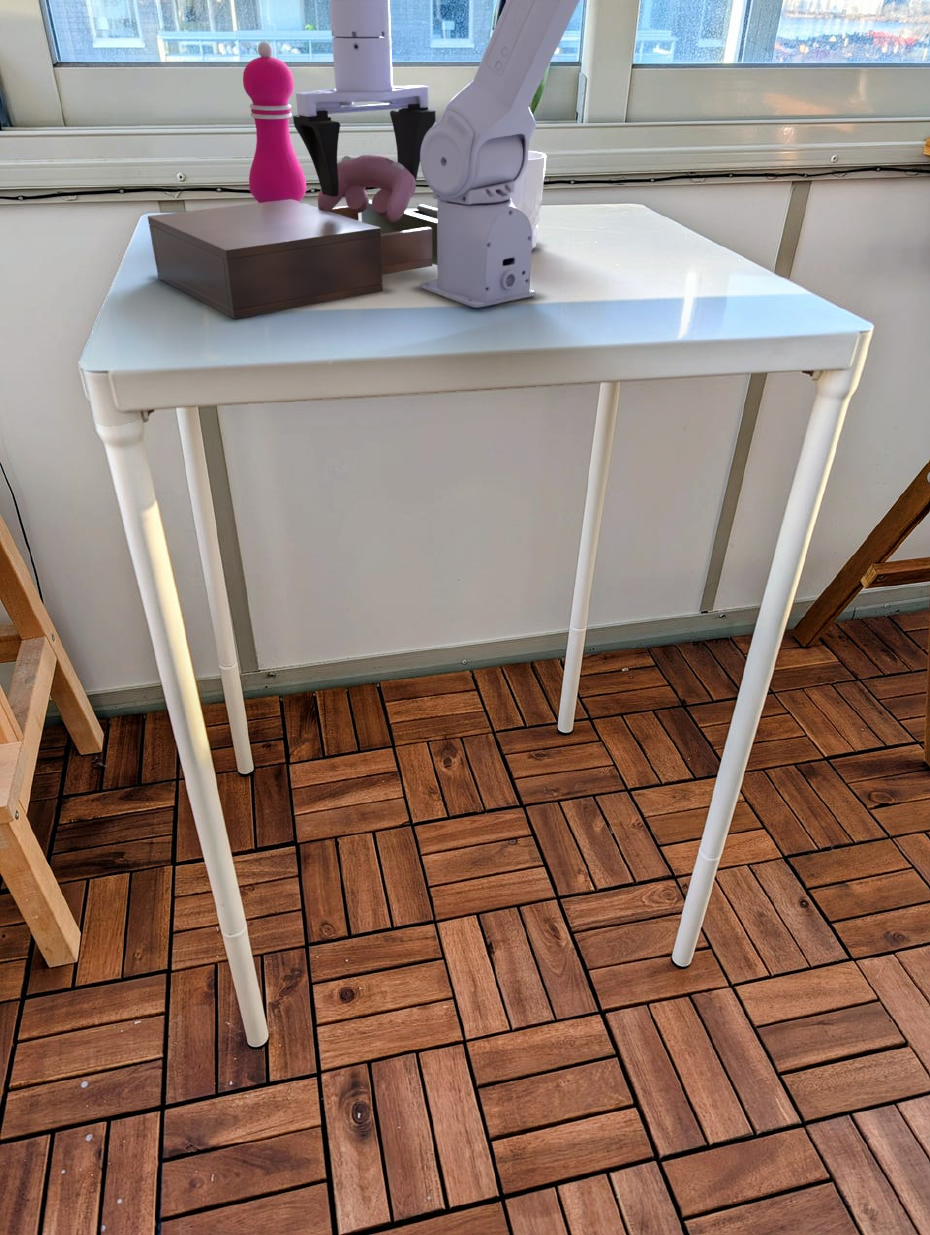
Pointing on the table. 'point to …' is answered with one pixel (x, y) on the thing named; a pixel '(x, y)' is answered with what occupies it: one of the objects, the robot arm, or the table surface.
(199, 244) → the cabinet
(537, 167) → the white cup
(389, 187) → the video game controller
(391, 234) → the drawer
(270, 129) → the pepper mill
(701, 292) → the table surface
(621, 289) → the table surface
